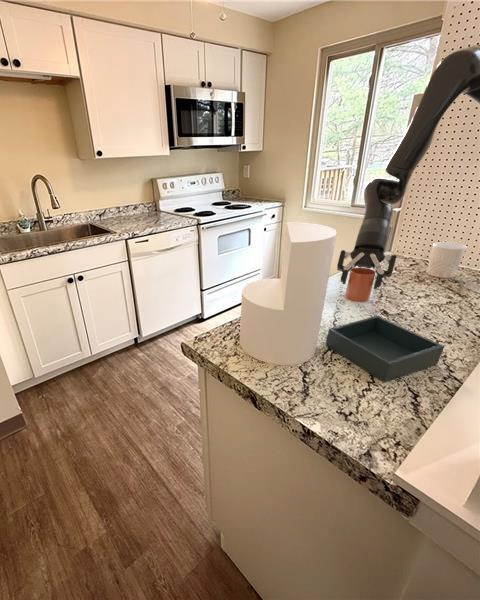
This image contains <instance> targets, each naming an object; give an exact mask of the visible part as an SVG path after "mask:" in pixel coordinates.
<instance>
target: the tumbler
mask: <svg viewBox="0 0 480 600" xmlns="http://www.w3.org/2000/svg"><path fill="white" fill-rule="evenodd" d="M375 278H376V272H375V271H374V270H373V269H372V268H365V267H355V268H352V269H351V270H350V271H349V274H348V281H347V285H346V290H345V295H344V297H345V298H346V299H347V300H350V301H353V302H357V303H358V302H359V303H362V302H368V301H369V300H370V298H371V294H372V289H373V285H374V281H375Z"/></svg>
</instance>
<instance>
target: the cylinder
mask: <svg viewBox="0 0 480 600" xmlns="http://www.w3.org/2000/svg"><path fill="white" fill-rule="evenodd" d="M337 234H338V233H337V230H336V229H335V228H333V227H331V226H329V225H324V224H320V223H313V222H305V221H304V222H302V221H286V223H285V230H284V240H283V250H282V251H283V252H282V261H281V270H280V278H263V279H259V280H255V281H252V282H249V283H247V284H246V285H244V286H243V288H242V290H241V304H240V305H241V306H240V323H239V324H240V325H239V346H240V347H241V349H242V350H243V351H244V352H245V353H246V354H247V355H248V356H250V357H252V358H254V359H255V360H257V361H260V362H263V363H265V364H270V365H275V366H296V365H300V364H305V363H306V362H308V361H310V360H311V359H313V357H314V356H315V355H316V351H317V347H318V340H319V335H320V328H321V323H322V317H323V311H324V307H325V301H326V296H327V295H326V294H327V290H328V284H329V279H330V273H331V269H332V268H331V267H332V261H333V256H334V251H335V245H336V240H337V239H336V238H337Z"/></svg>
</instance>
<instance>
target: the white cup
mask: <svg viewBox="0 0 480 600" xmlns="http://www.w3.org/2000/svg"><path fill="white" fill-rule="evenodd" d="M467 248H468V246H467V245H466V244H463V243H459V242H453V241H438V242H433V244H432V248H431V252H430V256H429V260H428V266H427V269H426V274H427V275H429V276H431V277H434V278H441V279H451V278H454V276H455V273H456V271H457V270H458V268H459V266H460V264H461V262H462V260H463V258H464V255H465V253H466V251H467Z"/></svg>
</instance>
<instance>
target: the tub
mask: <svg viewBox="0 0 480 600" xmlns="http://www.w3.org/2000/svg"><path fill="white" fill-rule="evenodd" d="M325 346H326V347H327V348H329V349H331V350H332V351H333V352H335V353H336V354H338V355H340V356H342V357H343V358H345V359H346V360H348V361H349V362H350V363H353V364H354V365H356V366H357V367H359V368H360V369H362V370H364V371H365V372H367V373H368V374H370V375H372V376H373V377H374V378H376V379H378V380H379V381H381V382H382V383H387V382H390V381H393V380H396V379H399V378H402V377H405V376H408V375H410V374H413V373H416V372H420V371H422V370H425V369H429V368H431V367H434V366H437V365H439V361H440V359H441V357H442V353H443V351H444V348H445V345H442V344H441V343H438V342H436V341H434V340H432V339H429V338H427V337H425V336H423V335H421V334H419V333H416V332H414V331H412V330H409V329H407V328H405V327H404V326H401V325H399V324H396V323H394V322H391V321H390V320H387V319H385V318H383V317H381V316H379V315H374V316H371V317H368V318H364V319H360V320H357V321H352V322H350V323H346V324H342V325H337V326H334V327H331V328H329V329H328V332H327V337H326V343H325Z"/></svg>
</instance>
